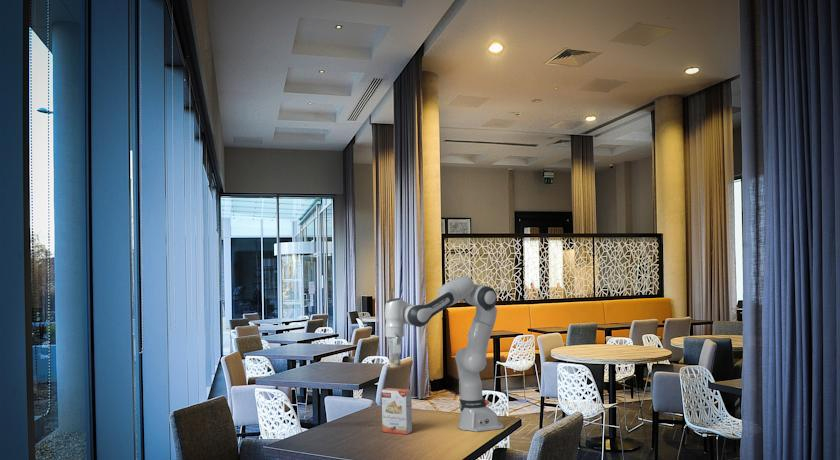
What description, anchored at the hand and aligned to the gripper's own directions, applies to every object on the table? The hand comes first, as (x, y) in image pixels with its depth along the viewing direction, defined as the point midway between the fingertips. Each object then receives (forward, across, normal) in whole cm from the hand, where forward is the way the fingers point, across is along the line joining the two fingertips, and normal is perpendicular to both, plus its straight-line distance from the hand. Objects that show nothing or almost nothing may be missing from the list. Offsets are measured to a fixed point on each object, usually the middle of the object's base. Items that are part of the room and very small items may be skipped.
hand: (395, 362), depth 296 cm
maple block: (+2, 0, 0) cm, 2 cm away
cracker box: (+36, +16, -2) cm, 40 cm away
